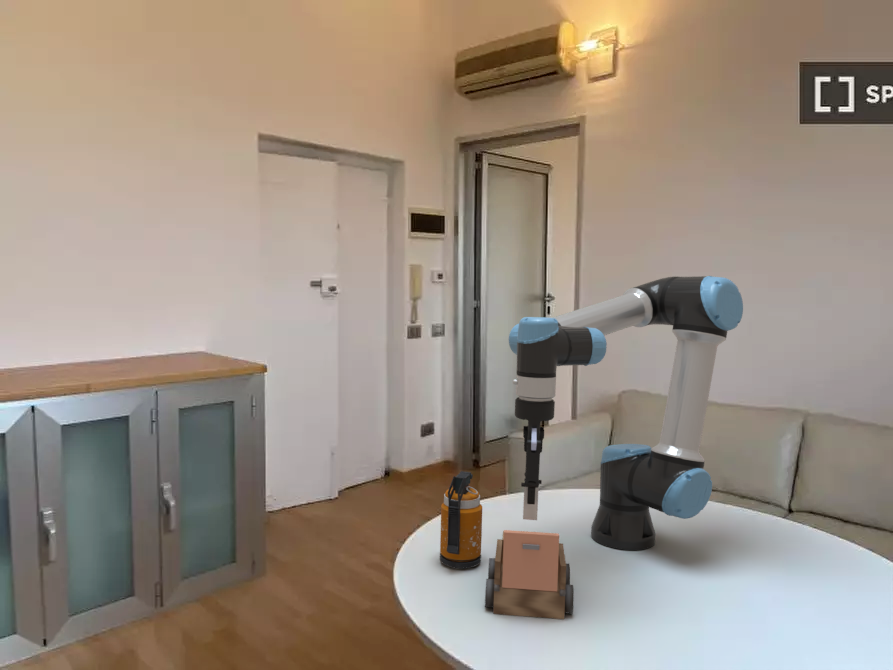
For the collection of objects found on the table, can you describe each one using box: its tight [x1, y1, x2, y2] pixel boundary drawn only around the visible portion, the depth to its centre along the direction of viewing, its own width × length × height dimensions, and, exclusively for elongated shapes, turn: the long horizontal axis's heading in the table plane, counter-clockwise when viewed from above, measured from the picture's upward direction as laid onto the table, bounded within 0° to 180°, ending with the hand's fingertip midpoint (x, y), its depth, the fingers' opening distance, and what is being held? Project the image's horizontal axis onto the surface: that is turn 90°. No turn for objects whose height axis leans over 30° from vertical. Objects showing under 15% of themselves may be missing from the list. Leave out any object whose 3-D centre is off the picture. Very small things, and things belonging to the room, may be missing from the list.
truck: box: [484, 530, 575, 620], centre depth 132 cm, size 16×17×10 cm
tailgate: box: [502, 529, 560, 592], centre depth 123 cm, size 10×2×10 cm, turn 83°
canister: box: [439, 470, 483, 570], centre depth 146 cm, size 9×11×20 cm
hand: (530, 518), depth 130 cm, fingers closed
